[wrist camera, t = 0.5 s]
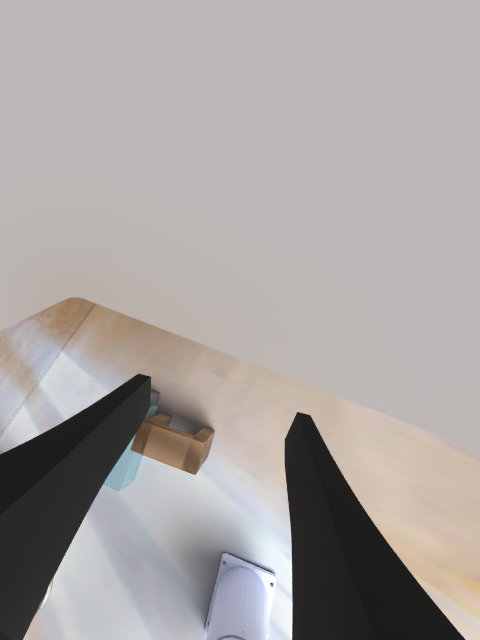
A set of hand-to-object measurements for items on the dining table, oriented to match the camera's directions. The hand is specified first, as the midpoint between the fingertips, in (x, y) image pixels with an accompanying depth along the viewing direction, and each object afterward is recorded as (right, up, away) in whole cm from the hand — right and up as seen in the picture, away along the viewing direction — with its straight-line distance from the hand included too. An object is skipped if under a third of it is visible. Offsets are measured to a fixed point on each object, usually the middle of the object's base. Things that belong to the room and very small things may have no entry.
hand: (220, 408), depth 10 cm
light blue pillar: (-17, -16, +26) cm, 35 cm away
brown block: (-9, -15, +26) cm, 31 cm away
